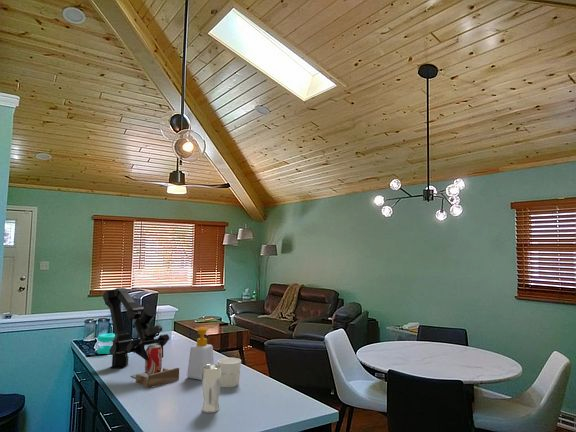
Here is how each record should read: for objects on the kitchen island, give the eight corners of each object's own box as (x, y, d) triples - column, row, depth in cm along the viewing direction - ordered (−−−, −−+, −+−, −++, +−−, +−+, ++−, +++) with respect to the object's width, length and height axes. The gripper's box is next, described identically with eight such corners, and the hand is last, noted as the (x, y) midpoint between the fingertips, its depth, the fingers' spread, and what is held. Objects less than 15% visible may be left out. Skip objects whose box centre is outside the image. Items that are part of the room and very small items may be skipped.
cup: (244, 382, 174) (244, 358, 175) (234, 389, 165) (234, 364, 166) (224, 379, 177) (224, 356, 178) (212, 386, 168) (213, 362, 169)
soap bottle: (221, 373, 187) (222, 324, 189) (203, 381, 174) (204, 329, 177) (204, 370, 191) (205, 323, 193) (185, 378, 179) (187, 327, 181)
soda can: (156, 376, 173) (157, 348, 174) (141, 375, 174) (142, 347, 175) (164, 371, 180) (165, 344, 181) (150, 370, 181) (151, 343, 182)
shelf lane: (135, 382, 172) (136, 370, 173) (164, 374, 183) (165, 363, 184) (149, 387, 165) (150, 375, 166) (178, 379, 176) (179, 368, 177)
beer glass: (202, 406, 146) (203, 364, 148) (221, 405, 147) (222, 364, 148) (199, 413, 139) (201, 369, 141) (219, 413, 140) (220, 369, 141)
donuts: (103, 337, 216) (93, 335, 221) (102, 356, 215) (92, 353, 221) (120, 334, 224) (110, 332, 230) (119, 352, 223) (109, 350, 229)
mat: (130, 376, 180) (130, 375, 180) (148, 372, 187) (148, 371, 187) (141, 380, 175) (141, 379, 175) (159, 375, 181) (159, 375, 181)
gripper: (131, 321, 174) (143, 351, 166) (168, 316, 189) (181, 344, 181) (121, 337, 179) (132, 367, 171) (158, 331, 193) (170, 358, 185)
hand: (155, 358), depth 177 cm, fingers closed on soda can, 7 cm apart
